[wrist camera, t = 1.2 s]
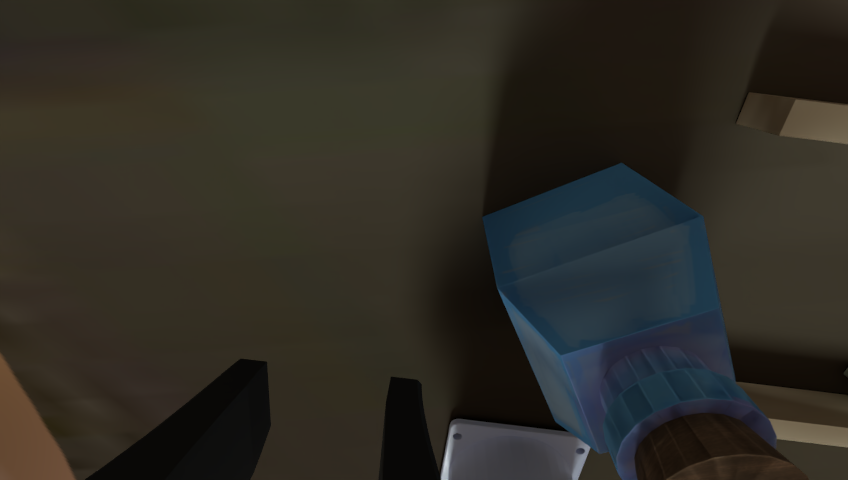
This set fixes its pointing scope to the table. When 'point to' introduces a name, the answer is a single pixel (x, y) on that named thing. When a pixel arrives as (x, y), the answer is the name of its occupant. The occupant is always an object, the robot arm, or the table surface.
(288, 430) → the table surface
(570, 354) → the perfume bottle
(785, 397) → the walled pen
